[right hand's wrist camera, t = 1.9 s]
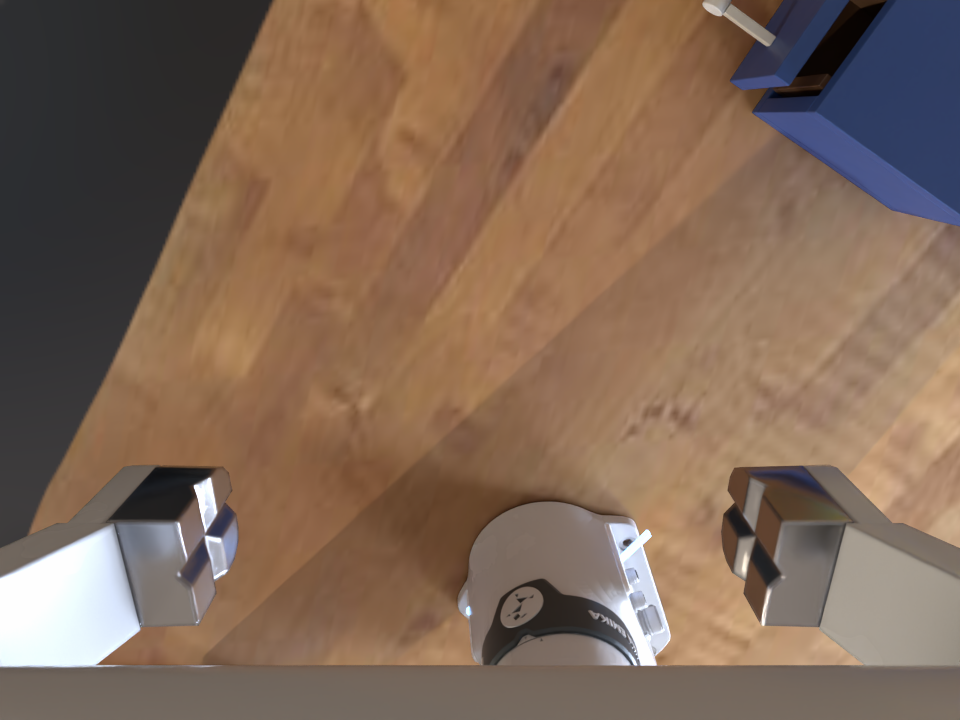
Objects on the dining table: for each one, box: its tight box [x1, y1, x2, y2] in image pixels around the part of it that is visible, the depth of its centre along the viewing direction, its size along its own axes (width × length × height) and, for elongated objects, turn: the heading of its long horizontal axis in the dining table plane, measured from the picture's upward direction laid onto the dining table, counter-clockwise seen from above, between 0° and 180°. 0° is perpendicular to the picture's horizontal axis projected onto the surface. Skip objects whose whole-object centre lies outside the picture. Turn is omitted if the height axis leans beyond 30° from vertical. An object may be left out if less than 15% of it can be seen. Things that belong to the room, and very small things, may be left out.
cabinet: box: [752, 0, 960, 226], centre depth 41 cm, size 14×10×9 cm
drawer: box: [702, 0, 887, 98], centre depth 40 cm, size 17×9×7 cm, turn 59°
